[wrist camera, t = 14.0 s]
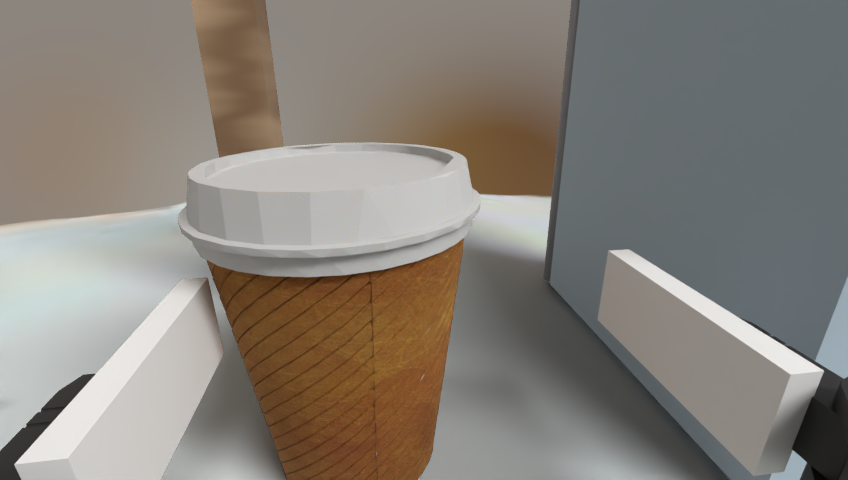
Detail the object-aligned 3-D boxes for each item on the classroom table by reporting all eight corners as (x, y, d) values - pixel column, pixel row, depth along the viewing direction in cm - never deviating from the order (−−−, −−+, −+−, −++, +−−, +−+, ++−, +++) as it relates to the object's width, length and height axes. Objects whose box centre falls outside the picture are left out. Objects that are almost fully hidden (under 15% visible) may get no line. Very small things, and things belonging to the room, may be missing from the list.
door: (540, 274, 32) (570, -35, 25) (584, 271, 32) (626, -33, 25) (756, 510, 14) (1072, -315, 7) (847, 496, 15) (1229, -295, 8)
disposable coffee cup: (332, 636, 12) (272, 225, 7) (200, 447, 18) (125, 164, 14) (516, 436, 18) (539, 156, 14) (372, 348, 24) (358, 135, 20)
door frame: (249, 319, 27) (158, -176, 18) (259, 297, 30) (185, -142, 21) (622, 290, 30) (698, -143, 22) (600, 272, 33) (660, -118, 24)
